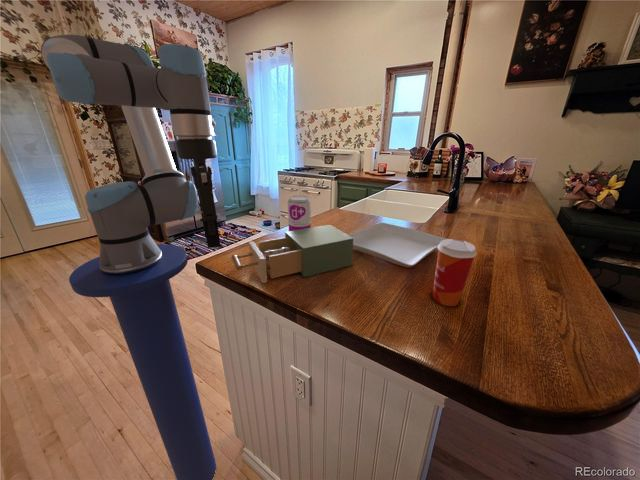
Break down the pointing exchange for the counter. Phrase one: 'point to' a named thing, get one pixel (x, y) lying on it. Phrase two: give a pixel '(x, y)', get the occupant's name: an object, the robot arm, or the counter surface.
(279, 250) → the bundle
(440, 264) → the paper cup
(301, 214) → the supplement can
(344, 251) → the cabinet
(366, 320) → the counter surface
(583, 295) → the counter surface
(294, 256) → the drawer
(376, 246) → the square plate
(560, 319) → the counter surface
